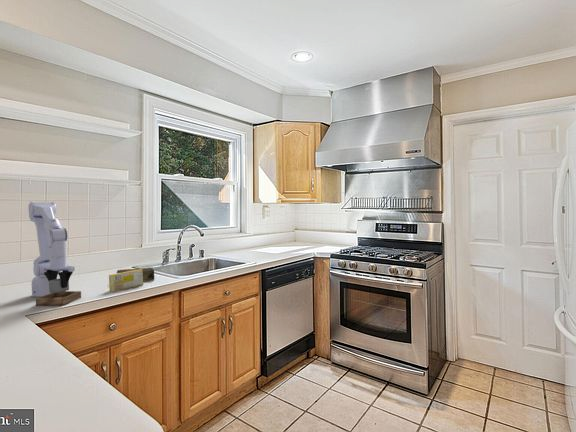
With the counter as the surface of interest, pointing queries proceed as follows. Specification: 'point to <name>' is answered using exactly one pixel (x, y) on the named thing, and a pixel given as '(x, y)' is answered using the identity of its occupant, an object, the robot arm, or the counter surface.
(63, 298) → the walnut crate
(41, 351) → the counter surface
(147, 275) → the beverage carton
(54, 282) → the slate crate
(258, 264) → the counter surface
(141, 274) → the candy box
